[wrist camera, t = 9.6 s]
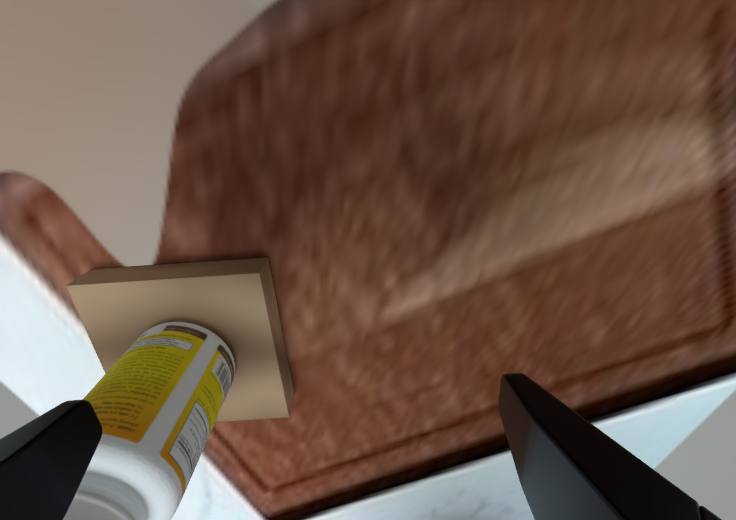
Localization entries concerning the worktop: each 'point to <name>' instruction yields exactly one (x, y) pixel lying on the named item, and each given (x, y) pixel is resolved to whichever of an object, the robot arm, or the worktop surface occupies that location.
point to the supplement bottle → (153, 423)
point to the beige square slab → (196, 321)
